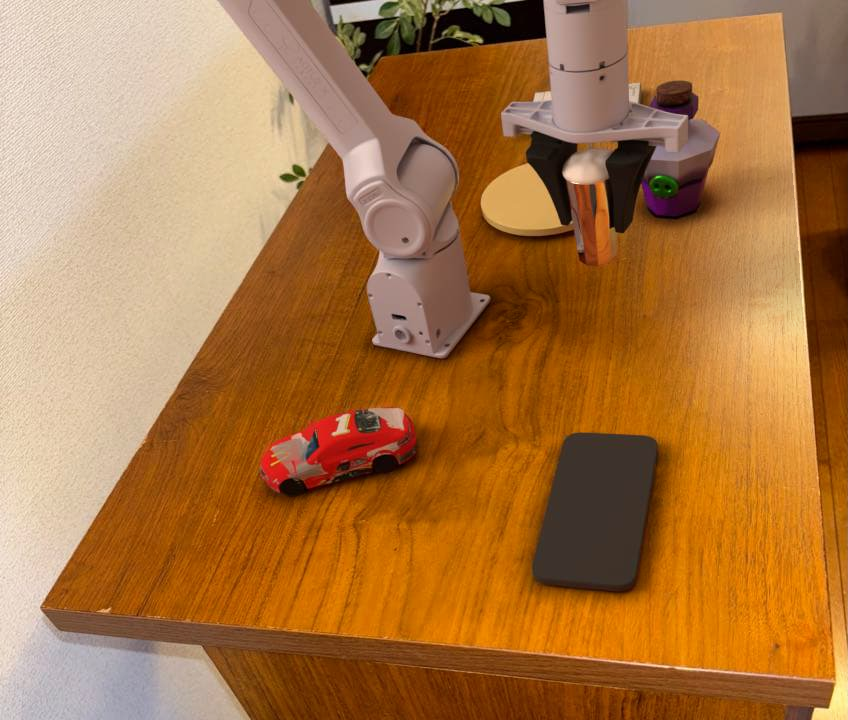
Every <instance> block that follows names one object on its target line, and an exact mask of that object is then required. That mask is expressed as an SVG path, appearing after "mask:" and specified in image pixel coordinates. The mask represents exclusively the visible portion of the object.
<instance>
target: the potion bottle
mask: <svg viewBox="0 0 848 720" xmlns="http://www.w3.org/2000/svg"><path fill="white" fill-rule="evenodd" d="M655 93H656V94H655V95H654V96H653V98H652V100H651V101H650V103H649V107H651V108H655V109H658V110H661V111H665V112H669V113H673V114H680V115H688V140H687V142H686V143H685V145H684V146H683V147H682V149H681V150H680V151H679V152H678V153H673V152H667V151H665V147H660V146H657V147H656V149H655V151H654V153H653V155H652V158H651V160H650V162H649V164H648V166H647V169H646V171H645V174H644V177H643V179H642V182H641V185H640V186H641V189H642V192H643V195H644V199H645V200H644V201H645V204H646V205H645V207H644V209H645V210H646V211H647V212H649V214H651V215H652V216H653V217H654V218H656V219H667V220H679V219H682V218H684V217H688V216H691V215H693V214H696V213H697V212H698V210H699V208H700V206H701V204H702V202H703V200H702V196H703V193H704V189H705V185H706V181H707V177H708V173H709V169H710V168H711V166H712V165H713V162H714V158H715V155H716V151H717V147H718V143H719V139H720V136H721V135H720V134H721V131H719V130H718V129H717V128H715V127H714V126H713V125H711V124H710V123H708V122H707V121H706V120H704V119H703V118H695V116H696V115H697V113H698V111H699V96H698V95H696V93H694V92H693V83H692V82H691V81H688V80H682V79H681V80H671V81H666V82H664V83H662V84H659V85H657V86H656V90H655Z"/></svg>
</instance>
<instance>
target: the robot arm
mask: <svg viewBox="0 0 848 720" xmlns="http://www.w3.org/2000/svg"><path fill="white" fill-rule="evenodd" d="M217 2H218V3H219V5H220V6H221V7H222V9H224V11H225V12H226V14H227V15H228V16H229V17H230V18H231V20H232V21H233V23H234V24H235V25H236V26H237V28H238V29H239V30H240V31H241V33H242V34H243V36H244V37H245V38H246V39H247V41H249V43H250V44H251V46H252V47H253V48H254V49H255V50H256V52H257V54H259V55H260V57H261V58H262V59H263V61H264V62H265V63H266V64H267V66H268V67H269V69H270V70H271V71H272V72H273V73H274V74H275V76H276V77H277V79H278V80H279V81H280V82H281V83H282V84H283V87H285V89H286V90H287V91H288V93H289V94H290V95H291V96H292V98H293V99H294V100H295V101H296V103H297V104H298V106H299V107H300V108H301V109H302V110H303V112H304V113H305V114H306V115H307V117H308V118H309V120H310V121H311V122H312V123H313V124H314V126H315V127H316V128H317V129H318V131H319V132H320V133H321V135H322V136H323V137H324V138H325V140H326V141H327V142H328V144H329V145H330V146H331V147H332V148H333V150H334V151H335V153H336V154H337V155H338V156H339V157H340V159H341V161H342V165H343V174H344V185H345V193H346V198H347V200H348V201H349V203H350V204H351V205H352V207H354V209H355V211H356V212H357V214H358V216H359V220H360V223H361V226H362V227H361V228H362V231H363V233H364V235H365V236H366V239H367V240H368V241H369V242H370V243H371V245H372V246H373V247H374V248H375V249H376V250H378V251H379V254H378V259H377V263H376V266H375V267H374V270H373V271H372V273H371V275H370V276H369V278H368V281H367V283H366V295H367V298H368V302H369V306H370V310H371V314H372V317H373V321H374V325H375V330H376V332H377V333H376V334H375V335H374V337H372V339H371V341H372V344H373V345H374V346H378V347H382V348H383V347H384V348H389V349H393V350H398V351H403V352H408V353H412V354H418V355H422V356H426V357H433V358H436V359H445V358H447V357H448V356H449V355H450V353H451V352H452V351H453V350H454V348H455V347H456V346H457V344H458V343H459V342H460V341H461V339H462V338H463V337H464V336H465V334H466V333H467V332H468V330H469V329H470V327H472V325H473V324H474V323H475V321H476V320H477V319H478V318H479V316H480V315H481V314H482V312H483V311H484V310H485V309H486V307H487V306H488V305H489V303H490V302H491V296H490V295H488V294H484V293H480V292H479V293H478V292H473V291H471V288H470V281H469V275H468V271H467V270H468V269H467V264H466V259H465V253H464V247H463V242H462V236H461V230H460V223H459V219H458V217H457V215H456V213H455V211H454V209H453V205H452V200H451V198H452V197H453V196H454V194H455V193H456V191H457V189H458V186H459V183H460V169H459V166H458V163H457V161H456V159H455V157H454V156H453V154H452V153H451V152H450V151H449V150H448V148H446V147H445V146H444V145H442V144H441V143H439V142H438V141H436V140H434V139H432V138H431V137H430V136H428V135H427V134H426V133H425V132H424V130H422V128H421V127H420V126H419V124H418V123H417V122H416V121H415V120H414V119H411V118H407V117H404V116H399V115H396V114H393V113H392V112H391V111H390V109H389V108H388V106H387V105H386V104H385V102H384V101H383V100H382V98H381V97H380V96H379V94H378V93H377V92H376V90H375V89H374V87H373V86H372V85H371V83H370V82H369V81H368V79H367V78H366V76H365V75H364V74H363V72H362V71H361V70H360V68H359V67H358V66H357V64H356V63H355V61H354V59H353V58H352V57H351V56H350V54H349V53H348V51H346V49H345V48H344V47H343V45H342V44H341V42H340V41H339V39H338V38H337V37H336V35H335V34H334V32H332V31H333V30H331V29H330V27H329V26H328V24H327V23H326V22H325V20H324V19H323V17H321V15H320V14H319V12H318V11H317V9H316V8H315V7H314V5H313V4H312V3H311V1H310V0H217ZM543 12H544V25H545V35H546V37H545V38H546V48H547V60H548V61H547V62H548V73H549V74H548V75H549V86H550V91H551V98H552V100H545V101H535V102H533V101H511V102H510V103H509V104H508V105H507V106H506V107H505V108H504V110H502V111H501V113H500V118H501V125H502V134H503V137H508V138H515V137H517V136H518V135H519V134H523V135H528V134H531V135H530V136H531V140H530V146H529V147H527V148H526V150H525V158H526V163H529V165H530V166H531V167H532V168H533V169H534V170H535V171H536V173H537V174H538V176H539V177H540V178H541V180H542V182H543V183H544V185H545V187H546V188H547V190H548V192H549V194H550V197H551V199H552V201H553V204H554V206H555V209H556V211H557V214H558V217H559V220H560V223H561V225H566V226H568V225H569V224H570V223H571V221H572V216H571V211H570V206H569V202H568V197H567V193H566V188H565V183H564V178H563V174H562V169H563V165H564V163H565V162H566V161H567V159H568V158H569V157H570V156H571V155H573V154H574V153H576V152H577V151H578V148H579V147H578V145H579V144H582V145H583V144H587V143H593V144H596V143H617V147H616V148H615V149H613V150H612V151H613V152H612V154H611V155H610V156H609V157H608V159H607V160H606V161H605V166H606V169H607V172H608V175H609V179H610V183H611V188H612V194H613V208H614V228H615V232H616V233H618V234H624V233H626V231H627V230H628V228H629V227H630V226H631V224H632V223H633V222H634V221H633V220H634V215H635V209H636V203H637V199H638V196H639V191H640V188H641V186H642V185H641V182H642V179H643V177H644V174H645V171H646V169H647V166H648V164H649V162H650V160H651V158H652V155H653V153H654V151H655V149H656V147H657V146H660V147H665V151H667V152H673V153H678V152H679V151H680V150H681V149H682V147H683V146H684V145H685V143H686V142H687V140H688V115H680V114H673V113H669V112H665V111H661V110H658V109H655V108H651V107H650V106H647V105H645V104H642V103H640V104H638V103H635V102H631V101H629V84H630V83H629V82H630V79H629V78H630V77H629V37H628V35H629V34H628V29H629V28H628V0H543Z"/></svg>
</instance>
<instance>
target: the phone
mask: <svg viewBox="0 0 848 720" xmlns="http://www.w3.org/2000/svg"><path fill="white" fill-rule="evenodd" d="M658 446H659V445H658V441H657V440H656V439H655V438H654V437H652V436H649V435H644V434H626V433H606V432H604V433H603V432H584V431H583V432H581V431H579V432H573V433H571V434H569V435H567V436H566V437H565V438H564V440H563V443H562V446H561V449H560V453H559V455H558V461H557V465H556V468H555V473H554V477H553V480H552V483H551V489H550V492H549V497H548V500H547V503H546V504H547V505H546V508H545V511H544V516H543V519H542V524H541V529H540V531H539V536H538V539H537V544H536V547H535V551H534V555H533V558H532V564H531V571H532V576H533V579H534V580H535V581H536V582H537V583H540V584H541V585H547V586H554V587H555V586H556V587H566V588H576V589H586V590H596V591H597V590H598V591H606V592H607V591H608V592H625V591H628V590H630V589H631V588H632V587H633V586H634V585H635V584H636V581H637V577H638V572H639V566H640V560H641V555H642V549H643V543H644V537H645V531H646V525H647V518H648V513H649V507H650V501H651V495H652V492H653V486H654V481H655V472H656V466H657V460H658V455H659V454H658V453H659V452H658V449H659V447H658Z"/></svg>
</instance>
